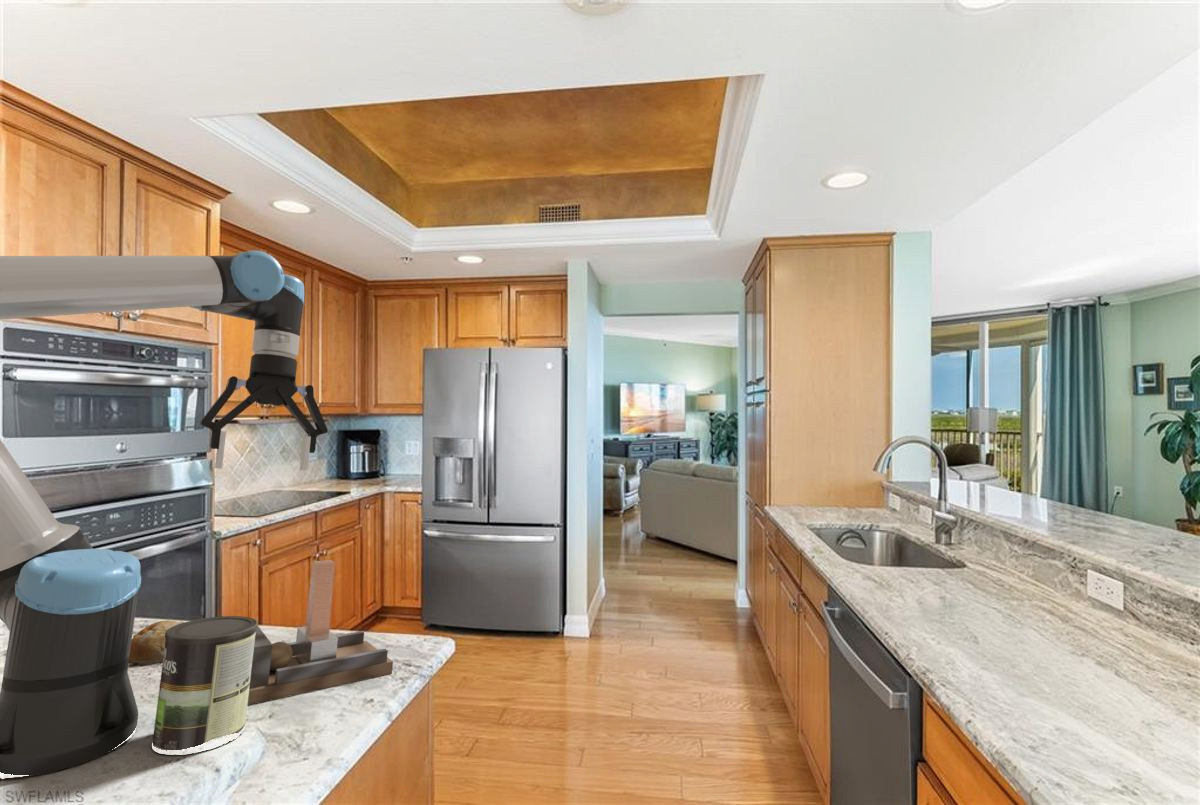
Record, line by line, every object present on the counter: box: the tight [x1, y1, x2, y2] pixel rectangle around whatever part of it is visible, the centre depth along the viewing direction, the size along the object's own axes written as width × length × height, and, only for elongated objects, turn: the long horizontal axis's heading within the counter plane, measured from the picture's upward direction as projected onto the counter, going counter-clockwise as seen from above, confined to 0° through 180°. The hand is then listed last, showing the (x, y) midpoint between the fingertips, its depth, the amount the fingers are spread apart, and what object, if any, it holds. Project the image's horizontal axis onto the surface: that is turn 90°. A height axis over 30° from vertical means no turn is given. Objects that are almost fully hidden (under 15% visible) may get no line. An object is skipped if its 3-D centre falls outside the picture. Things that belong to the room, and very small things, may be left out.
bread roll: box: [129, 620, 185, 665], centre depth 100 cm, size 10×10×8 cm
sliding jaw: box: [295, 559, 338, 664], centre depth 95 cm, size 4×10×17 cm, turn 41°
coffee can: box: [151, 615, 259, 751], centre depth 73 cm, size 10×10×14 cm
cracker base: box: [247, 625, 394, 706], centre depth 94 cm, size 22×14×8 cm, turn 131°
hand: (262, 469), depth 100 cm, fingers open, 13 cm apart
